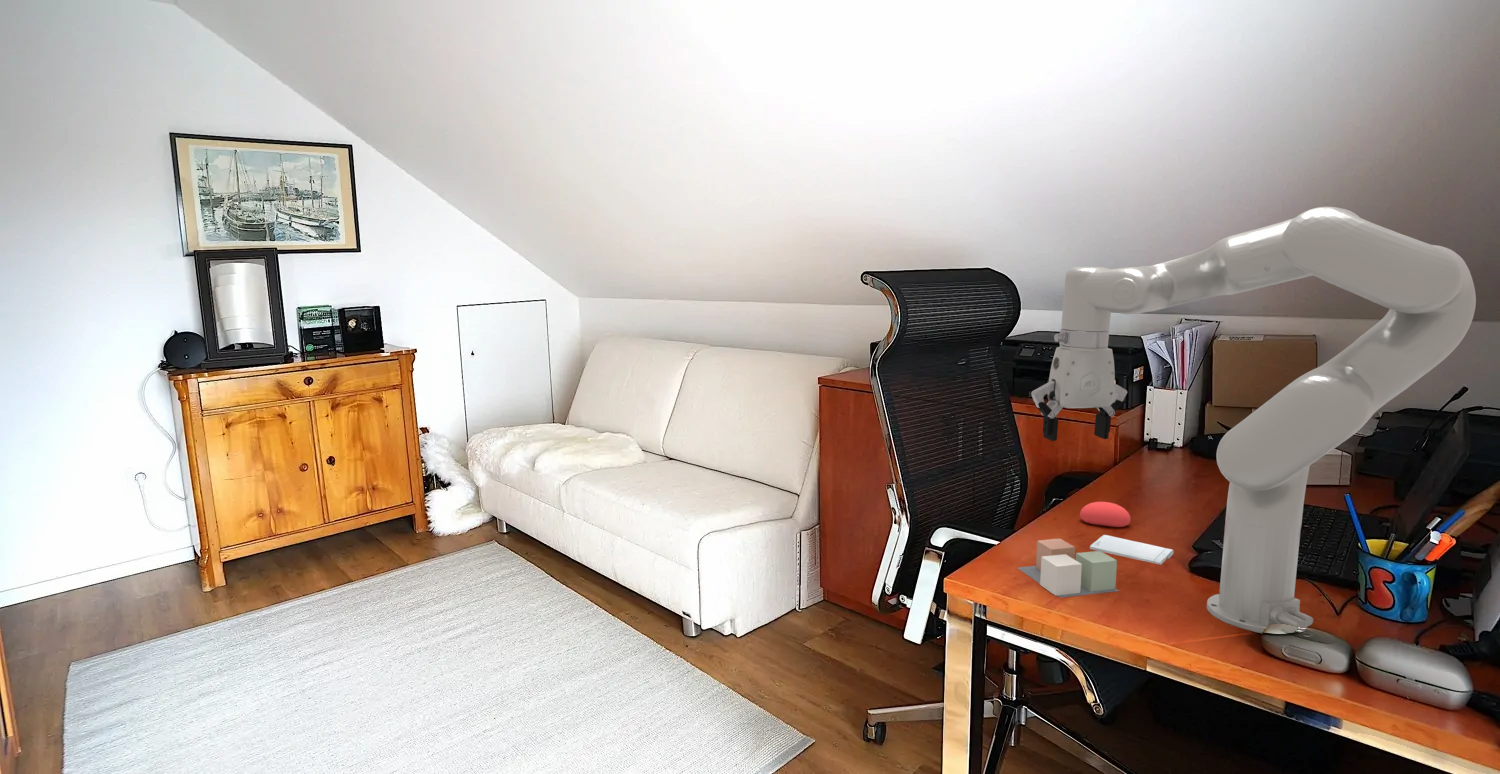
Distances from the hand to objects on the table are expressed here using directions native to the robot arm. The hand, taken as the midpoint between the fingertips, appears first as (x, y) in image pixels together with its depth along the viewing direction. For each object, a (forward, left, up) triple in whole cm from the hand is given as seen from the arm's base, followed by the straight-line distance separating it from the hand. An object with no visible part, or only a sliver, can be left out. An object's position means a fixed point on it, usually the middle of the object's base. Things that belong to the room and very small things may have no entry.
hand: (1075, 438), depth 137 cm
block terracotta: (-1, +4, -24) cm, 24 cm away
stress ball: (+20, -21, -24) cm, 38 cm away
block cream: (-8, +7, -24) cm, 26 cm away
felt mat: (-5, +4, -24) cm, 25 cm away
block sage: (-8, +1, -24) cm, 25 cm away
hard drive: (+4, -16, -25) cm, 30 cm away
